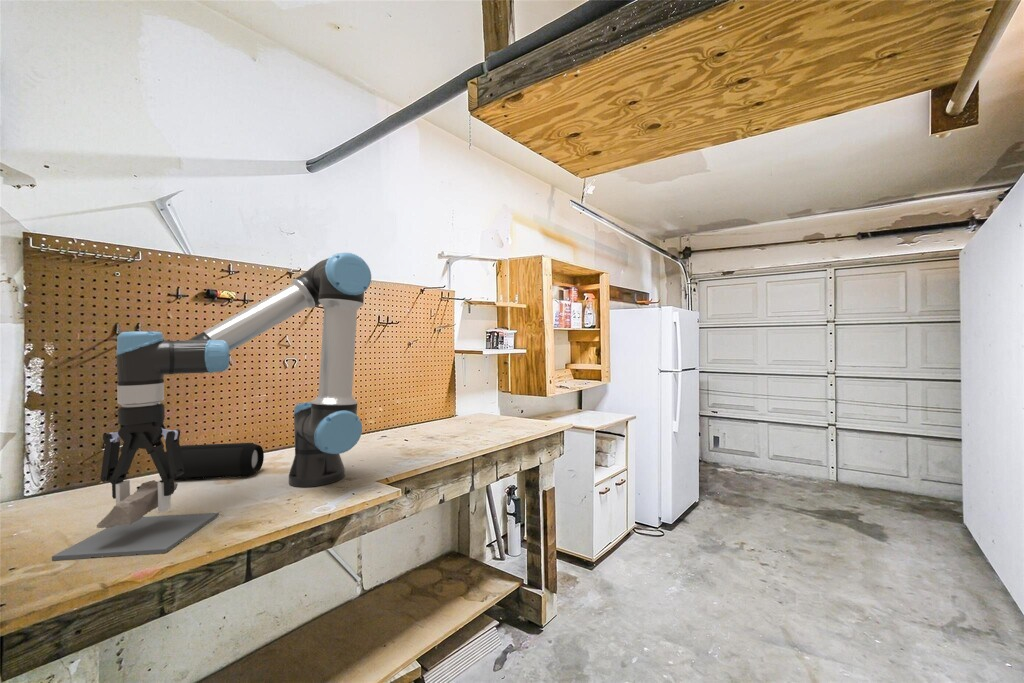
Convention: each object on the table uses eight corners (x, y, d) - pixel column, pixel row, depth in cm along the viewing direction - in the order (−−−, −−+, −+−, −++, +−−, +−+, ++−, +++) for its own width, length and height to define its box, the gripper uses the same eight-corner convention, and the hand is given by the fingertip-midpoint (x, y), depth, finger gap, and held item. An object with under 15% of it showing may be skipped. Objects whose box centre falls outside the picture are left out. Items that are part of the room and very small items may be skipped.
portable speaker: (265, 470, 139) (264, 439, 139) (249, 480, 129) (249, 446, 129) (180, 474, 136) (179, 442, 136) (157, 484, 126) (157, 450, 126)
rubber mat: (218, 515, 102) (218, 512, 102) (165, 553, 84) (165, 549, 84) (126, 521, 100) (126, 517, 100) (51, 560, 82) (51, 556, 82)
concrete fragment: (88, 529, 84) (87, 498, 84) (156, 502, 98) (155, 475, 98) (120, 530, 83) (119, 499, 83) (184, 502, 97) (183, 475, 97)
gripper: (203, 400, 96) (205, 502, 96) (104, 403, 94) (106, 508, 94) (181, 405, 89) (183, 516, 89) (73, 408, 87) (75, 522, 87)
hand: (144, 511), depth 92 cm, fingers closed on concrete fragment, 7 cm apart
